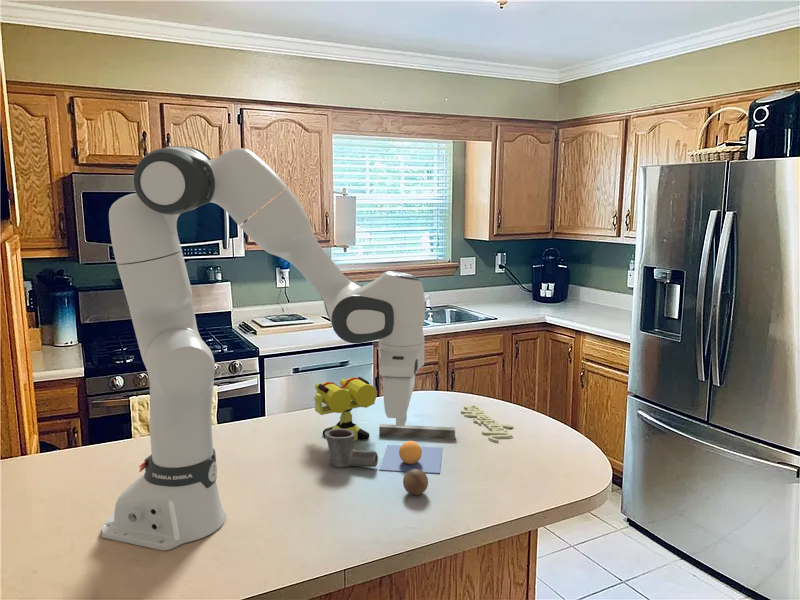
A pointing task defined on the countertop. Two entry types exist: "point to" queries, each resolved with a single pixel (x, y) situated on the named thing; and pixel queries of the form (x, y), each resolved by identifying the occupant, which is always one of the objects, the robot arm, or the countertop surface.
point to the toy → (345, 402)
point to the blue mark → (427, 463)
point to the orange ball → (410, 452)
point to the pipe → (347, 450)
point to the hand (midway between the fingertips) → (401, 423)
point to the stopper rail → (417, 431)
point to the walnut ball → (415, 482)
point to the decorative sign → (487, 423)
